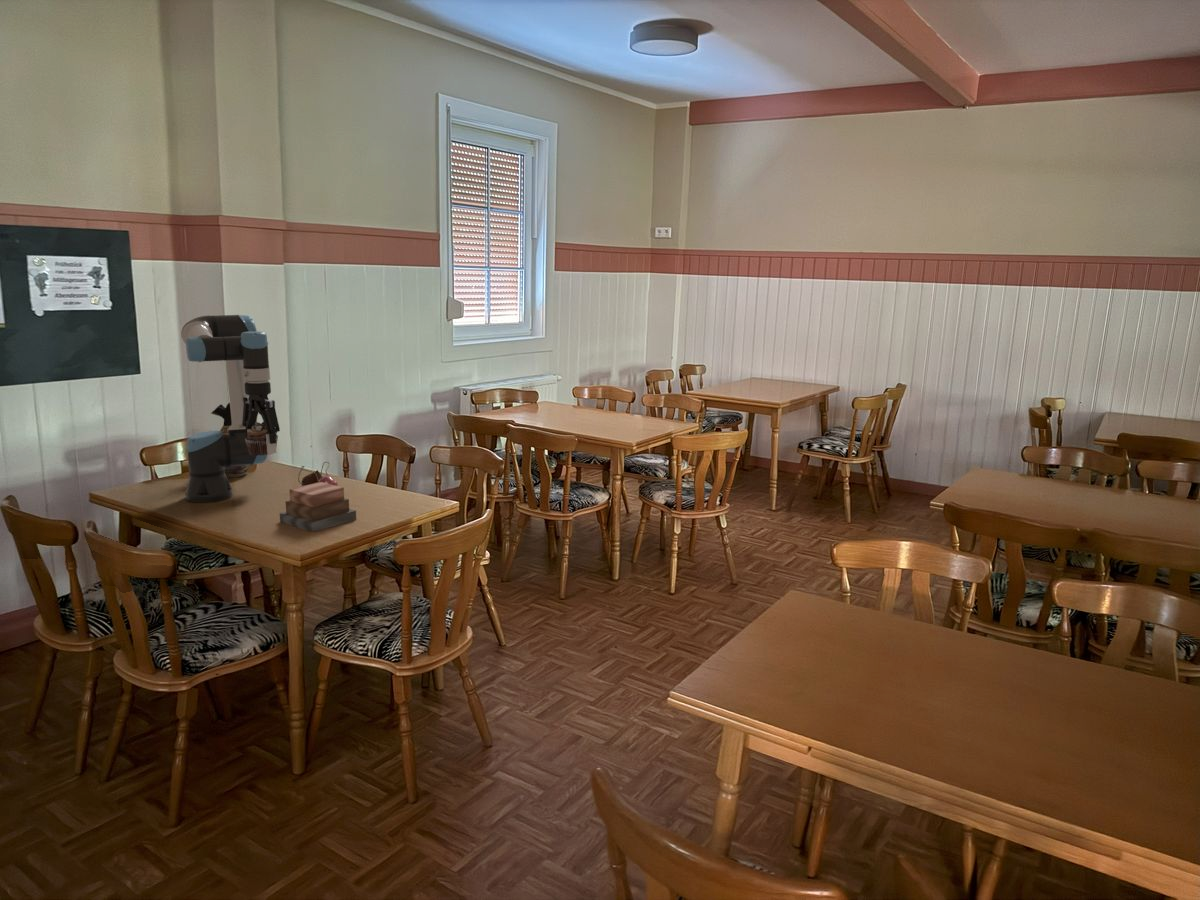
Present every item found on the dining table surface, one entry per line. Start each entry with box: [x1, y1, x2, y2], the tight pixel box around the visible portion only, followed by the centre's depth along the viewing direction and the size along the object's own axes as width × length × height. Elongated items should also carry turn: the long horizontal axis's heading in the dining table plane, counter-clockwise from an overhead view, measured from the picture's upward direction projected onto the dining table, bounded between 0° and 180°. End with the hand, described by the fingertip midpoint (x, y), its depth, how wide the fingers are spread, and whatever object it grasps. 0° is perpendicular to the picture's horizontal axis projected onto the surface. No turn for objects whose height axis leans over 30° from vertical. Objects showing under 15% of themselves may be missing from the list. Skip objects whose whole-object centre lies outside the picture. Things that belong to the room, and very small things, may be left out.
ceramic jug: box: [210, 402, 252, 478], centre depth 324 cm, size 17×15×30 cm
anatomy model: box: [297, 461, 339, 486], centre depth 297 cm, size 11×15×17 cm
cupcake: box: [245, 421, 279, 456], centre depth 261 cm, size 10×10×10 cm
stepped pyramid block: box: [279, 482, 357, 533], centre depth 270 cm, size 17×17×11 cm
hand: (262, 451), depth 262 cm, fingers closed on cupcake, 10 cm apart
